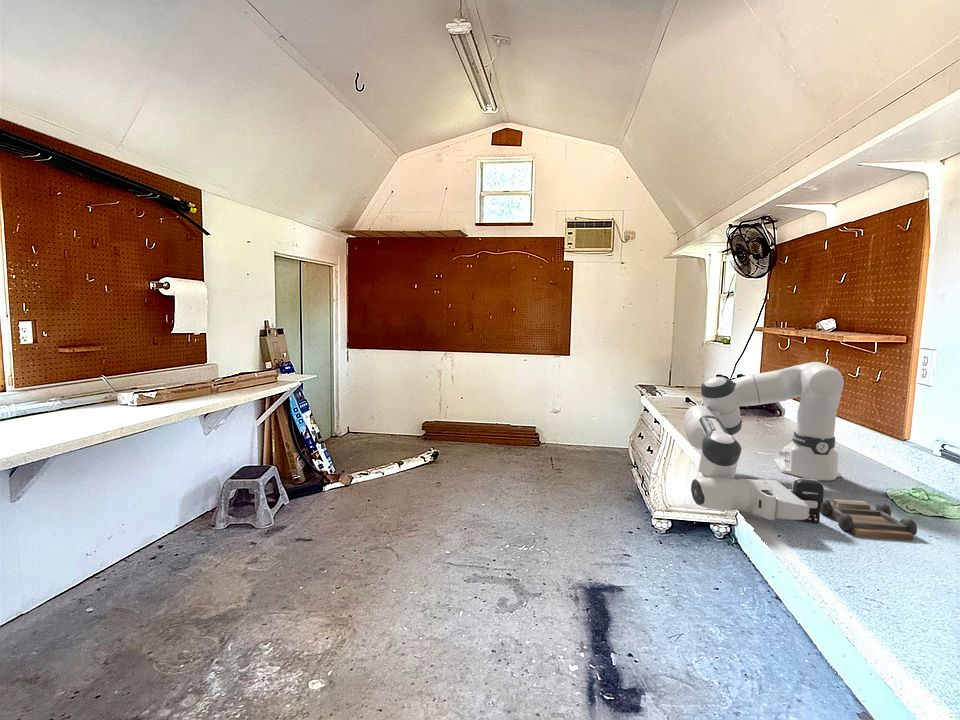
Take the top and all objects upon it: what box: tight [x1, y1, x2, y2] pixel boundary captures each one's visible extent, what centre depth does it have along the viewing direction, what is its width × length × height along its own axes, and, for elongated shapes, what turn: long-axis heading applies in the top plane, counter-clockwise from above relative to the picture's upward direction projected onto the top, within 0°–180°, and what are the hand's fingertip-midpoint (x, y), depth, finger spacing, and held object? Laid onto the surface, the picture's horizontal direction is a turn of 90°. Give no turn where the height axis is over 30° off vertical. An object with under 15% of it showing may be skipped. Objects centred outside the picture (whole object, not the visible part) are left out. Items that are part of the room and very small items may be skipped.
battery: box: [791, 477, 825, 524], centre depth 135 cm, size 7×4×11 cm, turn 72°
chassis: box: [820, 498, 918, 541], centre depth 134 cm, size 17×16×4 cm
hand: (810, 499), depth 135 cm, fingers open, 4 cm apart
